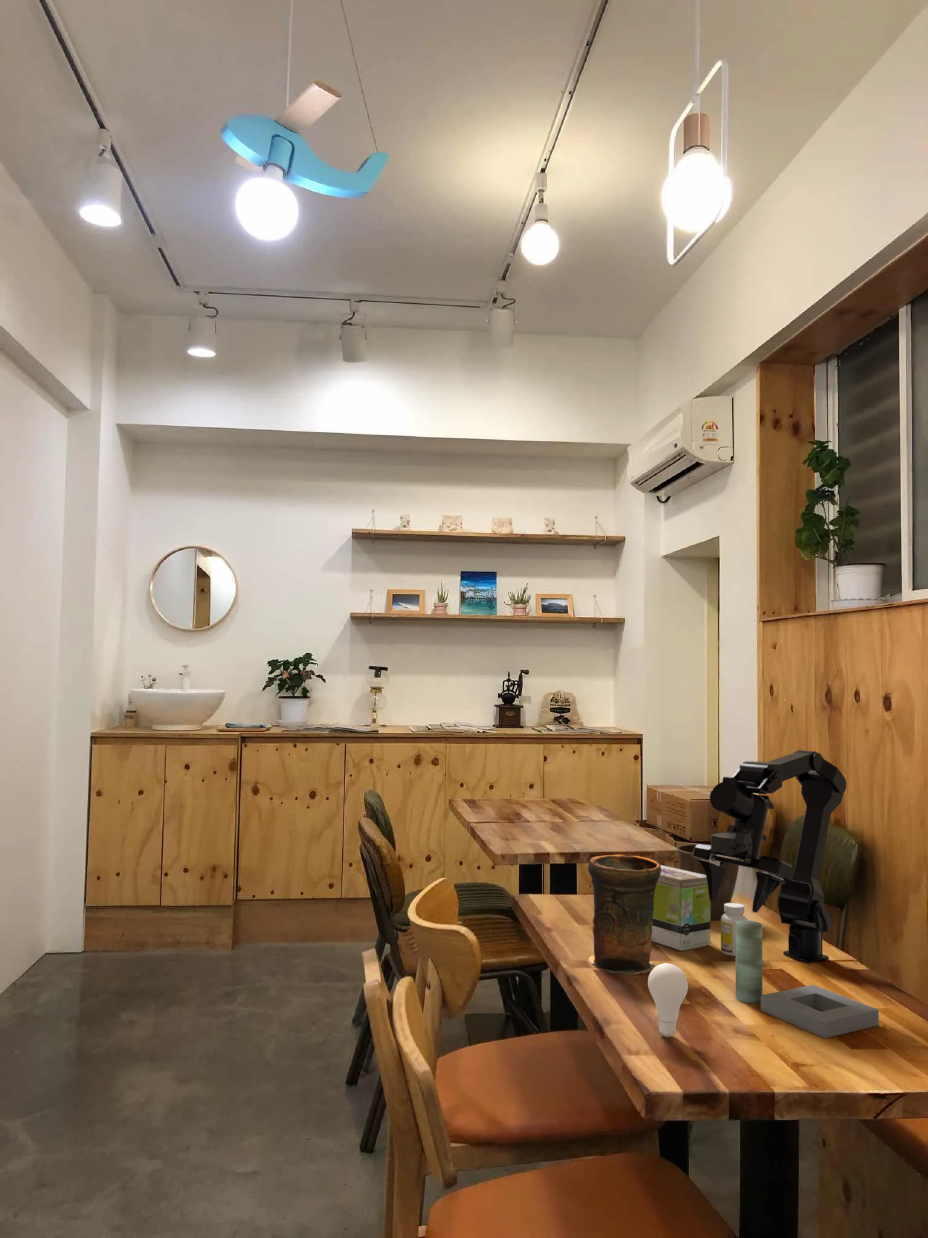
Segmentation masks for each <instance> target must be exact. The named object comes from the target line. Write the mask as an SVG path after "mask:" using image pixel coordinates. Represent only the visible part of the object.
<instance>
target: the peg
mask: <svg viewBox="0 0 928 1238" xmlns="http://www.w3.org/2000/svg"><path fill="white" fill-rule="evenodd" d="M761 995H763V924H762V923H761V922H759V921H756V920H755V921H754V920H749V919H747V920H739V921H736V956H735V999H736V1000H737V1001H740V1002H742V1003H745V1004H746V1003H747V1004H761Z"/></svg>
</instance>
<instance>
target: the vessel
mask: <svg viewBox="0 0 928 1238" xmlns="http://www.w3.org/2000/svg"><path fill="white" fill-rule="evenodd" d="M660 865H661V864H660V863H659V862H658V861H655V860H654V859H651V858H648V857H642V856H639V855H624V854H611V855H609V854H608V855H607V854H606V855H599V856H593V857H591V858H590V860H589V861H588V865H587V870H588V873H589V876H590V878H591V884H592V887H593V911H594V912H593V919H592V924H593V926H592V935H593V955H590V957H588V962H589V963H590V964H591V965H594V966H595V968H596V969H599V970H601V971H606V972H608V973H610V974H617V973H618V974H623V975H628V976H633V975H634V976H635V975H639V974H647V973H651V971H652V970H653V969H654V968H655V967H656V966H654V963H653V962H652V961H651V960H650V959H651V951H652V950H651V949H652V941H651V938H652V925H653V912H654V892H655V888H656V884H657V881H658V879H659V876H660V874H661V866H660Z"/></svg>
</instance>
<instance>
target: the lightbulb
mask: <svg viewBox="0 0 928 1238" xmlns="http://www.w3.org/2000/svg"><path fill="white" fill-rule="evenodd" d="M654 967H655V968H654V969H653V970H652V971H651V972H649V975H648V978H647V986H648V990H649V992H650V995H651V997H652V999H653V1001H654V1004H655V1008H656V1017H657V1019H658V1030H659V1031H658V1032H659V1033H661V1034H662V1035H663V1036H664V1037H666V1038H670V1037H672V1036H674V1035H675V1034H676V1030H677V1021H678V1019H679V1013H680V1012H679V1011H680V1008H681V1005H682V1003H683V1002H684V1000H685V998H686V996H687V993H688V991H689V983H688V979H687V977H686V974H685V973H684V972H683V970H682V969H681V968H680V967H679V966H677V965H675V964H672V963H661V964H658V965H656V966H654Z"/></svg>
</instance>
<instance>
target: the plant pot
mask: <svg viewBox="0 0 928 1238" xmlns="http://www.w3.org/2000/svg"><path fill="white" fill-rule="evenodd" d="M697 845H698V844H683V845H679V846H677V847H676V852H677V854H676V855H677V861H678V867H679V868H678V869H682V870H686V871H690V872H695V873H699V874H704V875H706V873H705V870H704V868H703V866H702V864H700V863H698V861H697V860H699V859H697V858H695V857H692V855H693V850H694V848H695V847H696V846H697ZM707 845H708V846H711V844H707ZM738 859H739V858H738ZM734 861H736V860H734ZM720 867H722V868H724V869H725V872H724V875H723V879H722V882H721V885H720V889H719V892H718V895H717V897H716V900H715V902H711V922H718V921H720V922H721V916H722V915H723V914H725V911H724V904H726V903H732V899H733V895H734V892H735V888H736V884H737V880H738V873H739V868H740V866H738V865H733V864H729V863H725V864H724V865H722V866H720Z"/></svg>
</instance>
